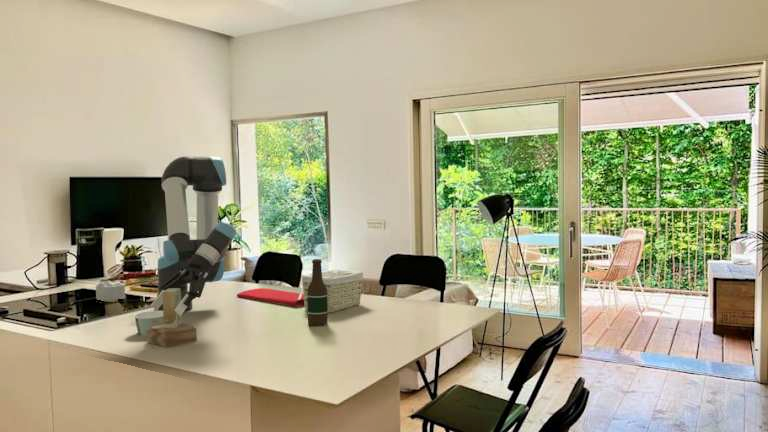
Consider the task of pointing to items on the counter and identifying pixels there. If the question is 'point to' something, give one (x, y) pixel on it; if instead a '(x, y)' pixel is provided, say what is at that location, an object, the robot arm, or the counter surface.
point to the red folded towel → (273, 296)
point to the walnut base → (172, 335)
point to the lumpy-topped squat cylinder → (110, 291)
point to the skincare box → (171, 307)
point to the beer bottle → (317, 297)
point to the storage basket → (338, 288)
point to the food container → (148, 321)
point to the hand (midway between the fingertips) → (165, 310)
